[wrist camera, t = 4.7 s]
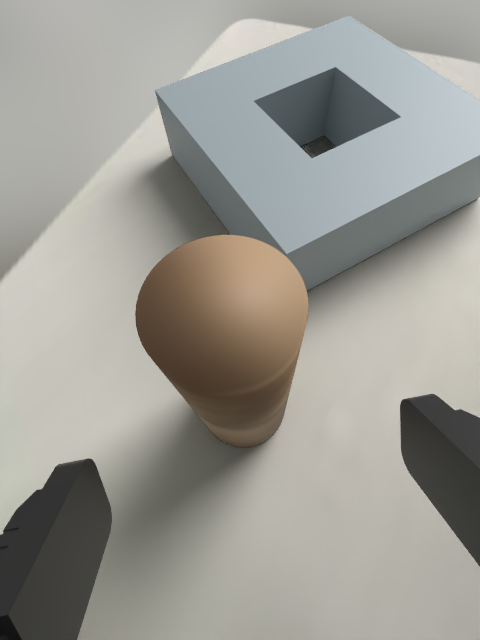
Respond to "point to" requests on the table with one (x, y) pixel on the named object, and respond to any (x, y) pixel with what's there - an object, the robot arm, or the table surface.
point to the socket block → (336, 164)
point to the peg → (226, 331)
